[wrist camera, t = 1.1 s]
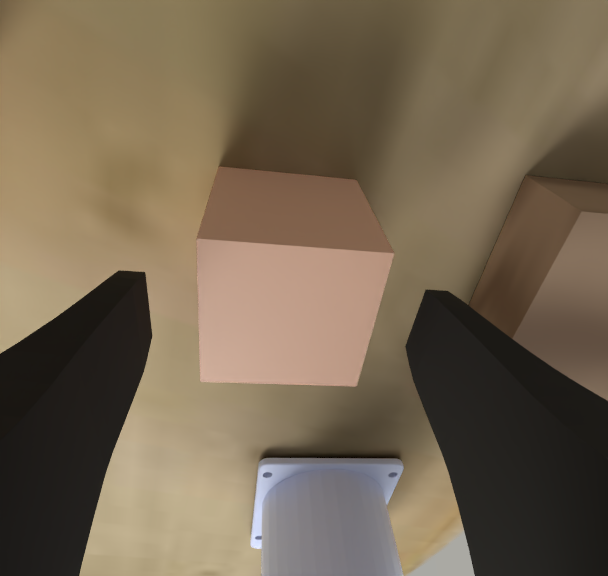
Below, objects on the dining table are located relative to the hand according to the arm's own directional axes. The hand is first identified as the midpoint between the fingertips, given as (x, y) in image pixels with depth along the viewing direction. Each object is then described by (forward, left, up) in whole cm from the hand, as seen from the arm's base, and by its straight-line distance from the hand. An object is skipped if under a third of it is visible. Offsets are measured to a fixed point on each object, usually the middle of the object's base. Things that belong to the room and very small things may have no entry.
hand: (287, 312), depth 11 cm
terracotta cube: (0, 0, -5) cm, 5 cm away
